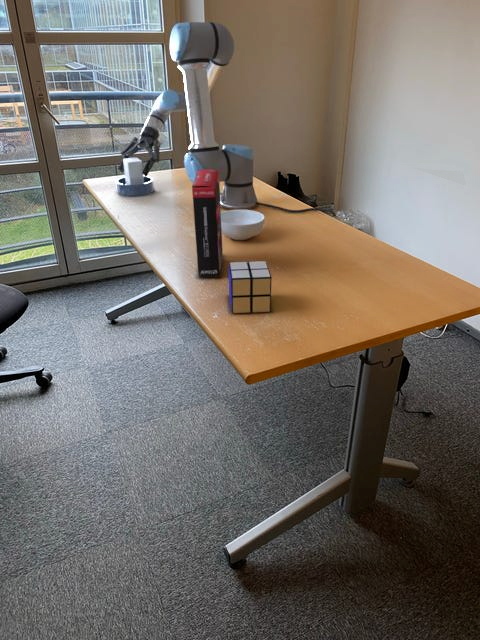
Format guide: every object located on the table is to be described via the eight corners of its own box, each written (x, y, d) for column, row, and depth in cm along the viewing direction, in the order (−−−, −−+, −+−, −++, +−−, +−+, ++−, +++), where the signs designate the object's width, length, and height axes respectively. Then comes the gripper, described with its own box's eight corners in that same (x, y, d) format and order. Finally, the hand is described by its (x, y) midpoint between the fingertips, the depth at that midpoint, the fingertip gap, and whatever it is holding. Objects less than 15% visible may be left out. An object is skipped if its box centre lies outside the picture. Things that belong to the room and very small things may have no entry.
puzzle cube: (229, 295, 137) (228, 262, 131) (265, 294, 137) (266, 260, 132) (231, 314, 128) (231, 278, 123) (270, 312, 129) (271, 277, 124)
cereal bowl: (271, 231, 178) (272, 212, 175) (252, 248, 165) (253, 227, 162) (228, 224, 184) (228, 206, 181) (207, 240, 171) (206, 220, 168)
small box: (145, 191, 219) (142, 160, 213) (131, 193, 217) (127, 162, 210) (140, 186, 226) (136, 157, 219) (126, 188, 223) (122, 158, 217)
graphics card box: (220, 279, 145) (217, 185, 132) (196, 279, 146) (191, 185, 132) (222, 255, 160) (220, 168, 146) (201, 255, 160) (196, 168, 146)
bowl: (159, 188, 226) (158, 176, 223) (143, 198, 213) (142, 186, 210) (128, 185, 230) (126, 174, 228) (110, 195, 217) (109, 183, 215)
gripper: (178, 138, 217) (159, 181, 214) (135, 133, 229) (116, 173, 226) (170, 127, 211) (149, 171, 208) (125, 122, 222) (105, 164, 219)
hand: (132, 172), depth 217 cm, fingers open, 13 cm apart
